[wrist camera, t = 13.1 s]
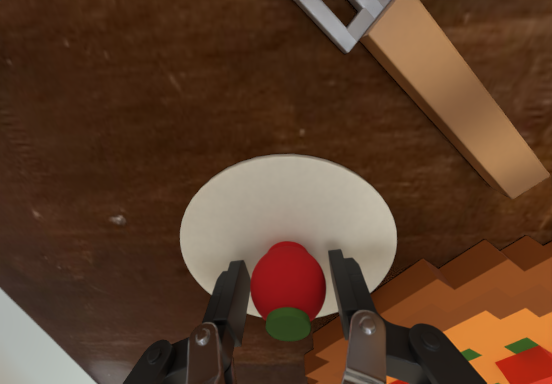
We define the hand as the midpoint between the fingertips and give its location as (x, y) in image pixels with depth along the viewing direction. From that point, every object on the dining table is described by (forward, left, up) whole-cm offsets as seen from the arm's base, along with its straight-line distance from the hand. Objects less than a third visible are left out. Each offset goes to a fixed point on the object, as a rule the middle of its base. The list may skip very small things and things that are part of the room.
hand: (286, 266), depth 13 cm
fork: (+11, +3, -1) cm, 11 cm away
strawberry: (0, 0, -1) cm, 1 cm away
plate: (0, 0, -1) cm, 1 cm away
